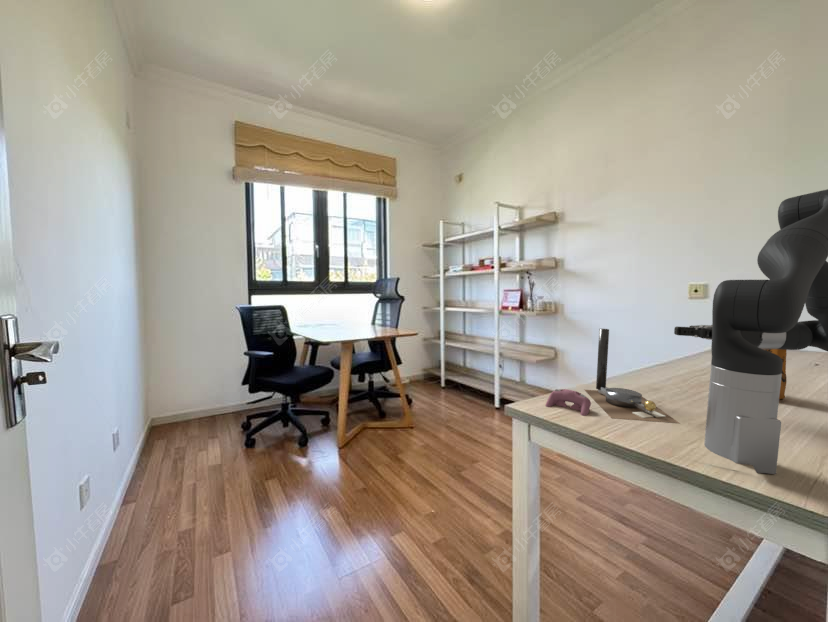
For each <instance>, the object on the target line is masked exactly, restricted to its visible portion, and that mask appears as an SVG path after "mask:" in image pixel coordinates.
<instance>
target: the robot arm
mask: <svg viewBox="0 0 828 622" xmlns="http://www.w3.org/2000/svg"><path fill="white" fill-rule="evenodd" d="M777 221H778V225H779V230H777V231H776V232H775V233H774V234H772V235H771V236H769V237H770V238H768V239H767V240H766V242H765V243H764V245H763V246H762V248H761V249H760V251H759V252H758V254H757V259H756V260H757V266H758V268H759V270H760V272H762V274H763V275H764V276H765V277H766V278H767V279H727V280H723V281H721V282H720V283H719V284H718V285H717V286H716V288H715V291H714V294H713V299H712V309H711V310H712V322H711V325H710V324H699V325H698V324H697V325H689V326H674V330H673V331H674V332H673V334H674V335H675V336H681V337H683V336H685V337H694V338H700V339H703V340H704V339H705V340H709V341H710V340H711V361H710V374H709V387H708V399H707V410H706V419H705V433H704V447H705V448H706V449H707V450H708V451H710V452H712V453H713V454H715V455H717V456H719V457H722V458H725V459H727V460H730V461H731V462H733V463H734V464H738V465H739V464H741V465H751V466H752V467H753V469H754V471H755V473H758V474H759V473H760V474H771V475H776V474H777V467H778V457H779V448H780V438H781V428H782V421H781V420H780V419H778V414H779V413H778V412H779V403H780V399H779V395H780V386H781V377H782V367H783V361H782V359H781V358H780V357H779V356H778V355H776V354H774V353H771V352H768V351H766V349H783V350H786V351H787V350H788V351H798V350H800V351H801V350H803V349H804V350H805V349H806V348H808V347H812V348H816V349H820V350H822V351H825V352H828V261H827V259H828V188H827V189H823V190H819V191H813V192H808V193H805V194H801V195H796V196H792V197H788V198H786V199H784V200H782V202H781V203H780V204H779V206H778V210H777ZM804 307H805V309H806V311H807V313H808V314H809V315H810V316H811V317H812V318H814V319H815V320H813V319H812V320H804V321H802V320H801V321H799V320H800V318H801V315H802V313H803V310H804Z"/></svg>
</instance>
